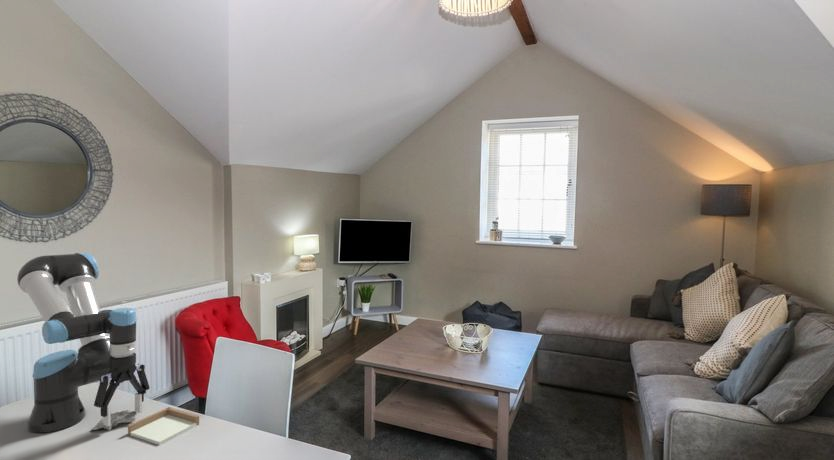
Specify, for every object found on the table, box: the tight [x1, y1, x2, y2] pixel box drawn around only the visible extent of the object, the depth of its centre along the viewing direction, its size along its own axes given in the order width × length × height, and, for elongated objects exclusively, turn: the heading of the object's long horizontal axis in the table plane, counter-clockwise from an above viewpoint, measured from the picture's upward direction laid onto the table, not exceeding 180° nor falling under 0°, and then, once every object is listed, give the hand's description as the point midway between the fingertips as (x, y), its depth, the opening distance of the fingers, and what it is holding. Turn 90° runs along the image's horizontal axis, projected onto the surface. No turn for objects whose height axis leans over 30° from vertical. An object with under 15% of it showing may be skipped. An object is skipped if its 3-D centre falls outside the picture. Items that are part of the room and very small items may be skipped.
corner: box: [127, 407, 200, 446], centre depth 148 cm, size 15×15×3 cm
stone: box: [90, 409, 138, 431], centre depth 148 cm, size 6×12×4 cm, turn 98°
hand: (123, 418), depth 150 cm, fingers open, 10 cm apart
